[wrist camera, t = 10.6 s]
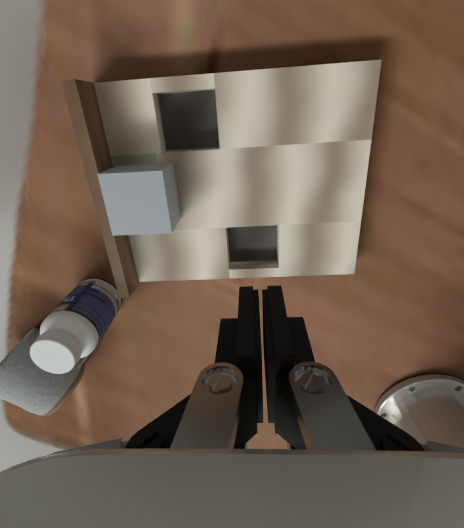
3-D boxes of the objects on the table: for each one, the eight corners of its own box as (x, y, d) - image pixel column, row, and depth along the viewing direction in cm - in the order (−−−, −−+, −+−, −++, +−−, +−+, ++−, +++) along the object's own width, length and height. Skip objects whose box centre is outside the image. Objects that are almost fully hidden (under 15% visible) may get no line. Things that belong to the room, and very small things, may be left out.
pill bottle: (88, 268, 34) (34, 322, 25) (130, 294, 35) (93, 354, 27) (68, 300, 36) (11, 360, 27) (108, 323, 37) (67, 388, 29)
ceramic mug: (67, 382, 42) (33, 435, 35) (13, 348, 40) (-35, 398, 33) (112, 341, 39) (85, 390, 32) (56, 301, 36) (13, 345, 29)
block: (173, 162, 27) (162, 170, 23) (180, 218, 29) (171, 233, 25) (117, 165, 27) (97, 174, 23) (128, 220, 29) (112, 235, 26)
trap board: (371, 63, 25) (399, 52, 20) (348, 264, 32) (364, 289, 28) (92, 85, 26) (61, 80, 22) (135, 273, 34) (119, 297, 30)
